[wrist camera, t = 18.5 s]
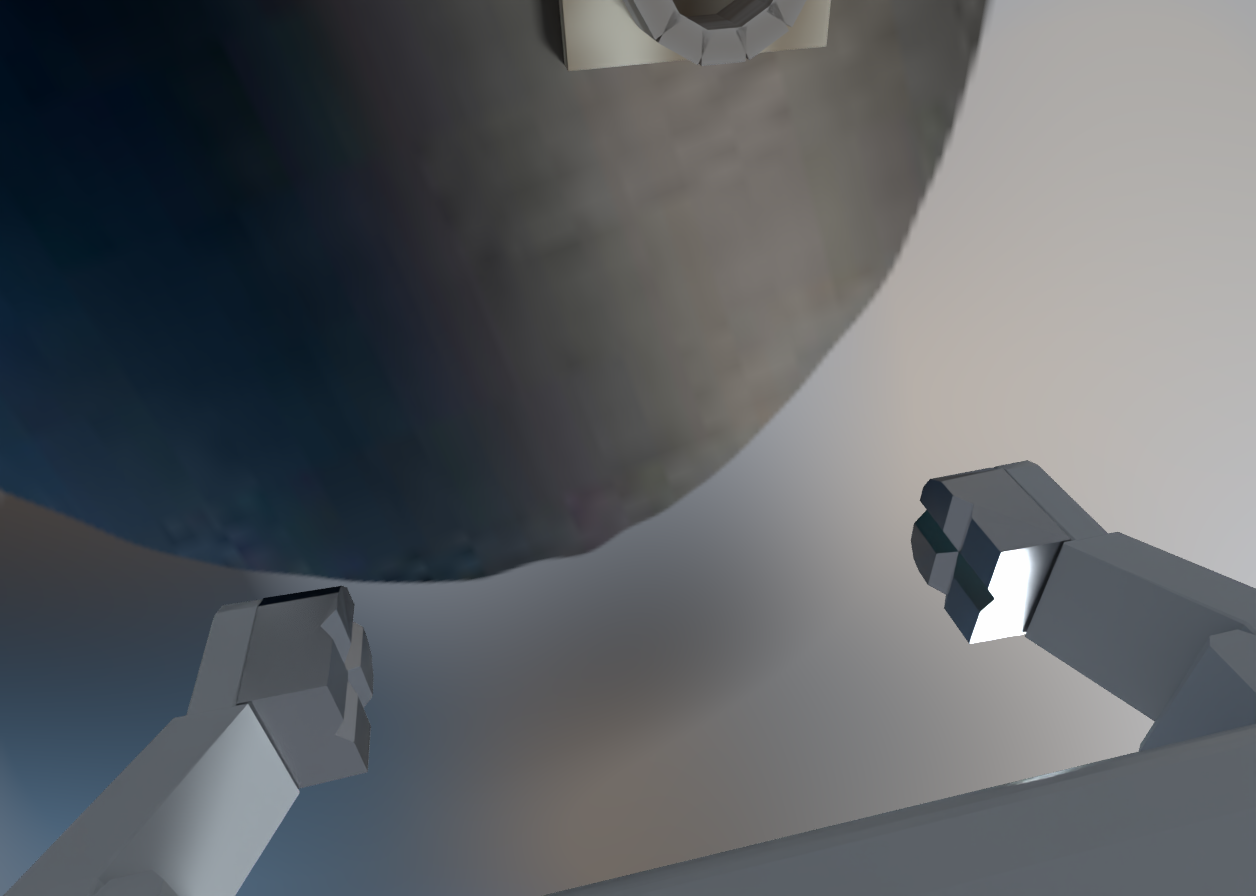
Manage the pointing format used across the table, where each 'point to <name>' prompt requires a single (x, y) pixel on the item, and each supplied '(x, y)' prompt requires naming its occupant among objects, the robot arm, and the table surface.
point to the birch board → (631, 48)
